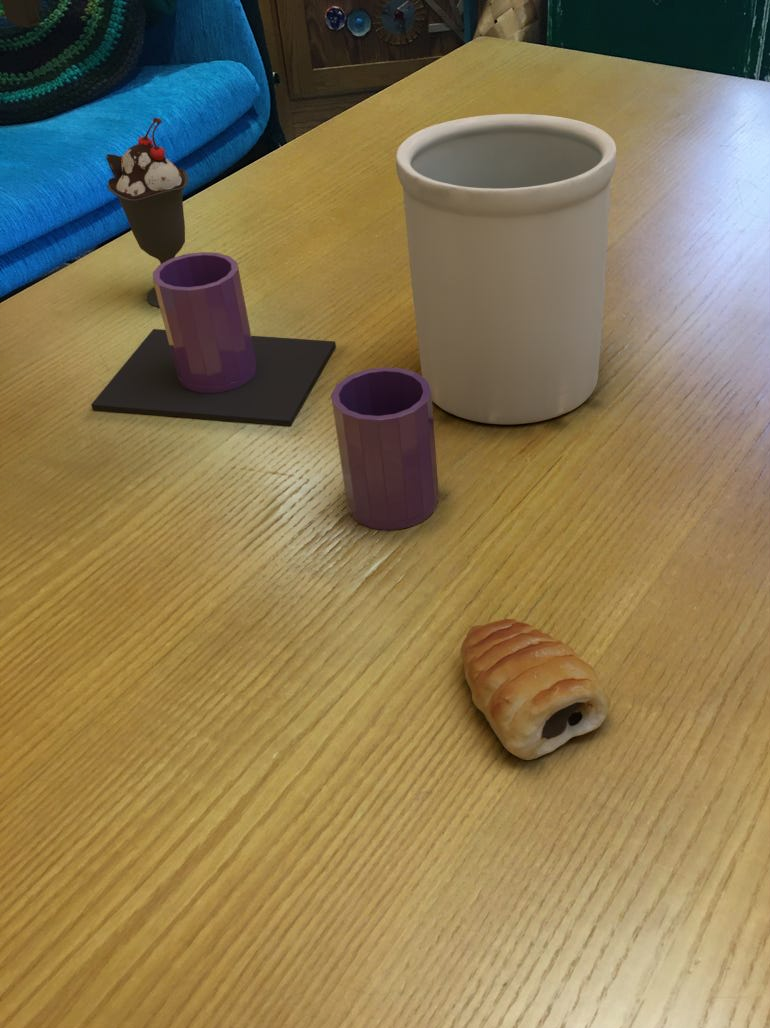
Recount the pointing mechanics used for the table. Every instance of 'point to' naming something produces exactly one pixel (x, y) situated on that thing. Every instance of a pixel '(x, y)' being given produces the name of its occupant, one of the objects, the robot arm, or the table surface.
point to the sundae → (151, 198)
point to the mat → (262, 400)
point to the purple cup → (206, 321)
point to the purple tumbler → (386, 447)
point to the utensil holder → (508, 261)
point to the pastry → (531, 687)
